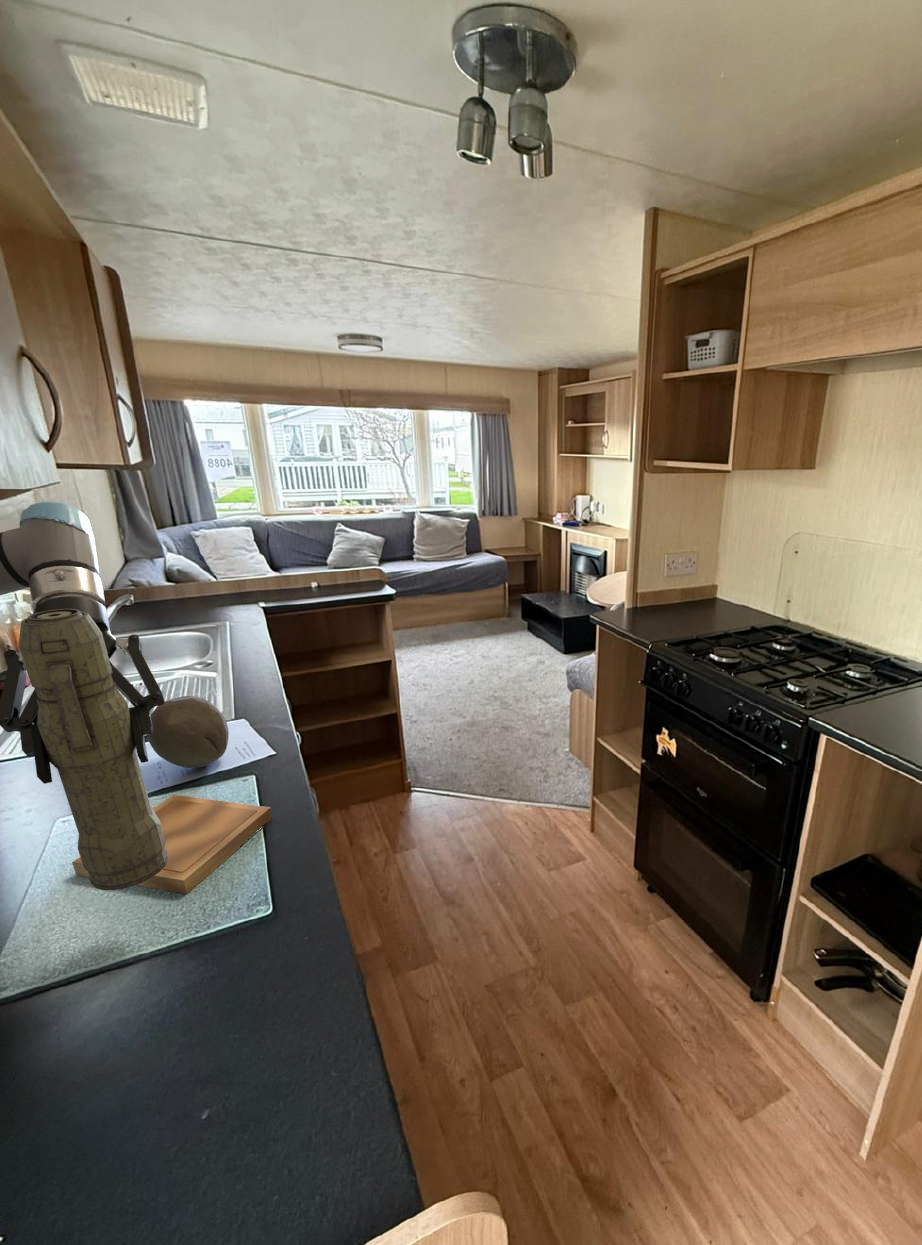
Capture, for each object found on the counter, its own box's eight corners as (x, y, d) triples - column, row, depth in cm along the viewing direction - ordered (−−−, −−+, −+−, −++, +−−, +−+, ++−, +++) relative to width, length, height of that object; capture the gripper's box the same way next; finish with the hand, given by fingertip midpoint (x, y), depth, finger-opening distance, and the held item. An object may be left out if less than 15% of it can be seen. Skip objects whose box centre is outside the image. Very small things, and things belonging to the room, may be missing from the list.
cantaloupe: (234, 744, 137) (221, 682, 131) (234, 773, 125) (219, 705, 119) (160, 757, 131) (143, 693, 125) (152, 789, 119) (133, 719, 113)
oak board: (76, 875, 95) (71, 861, 94) (176, 806, 113) (173, 794, 112) (187, 893, 91) (183, 879, 90) (272, 819, 110) (270, 806, 109)
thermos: (90, 907, 75) (-3, 633, 62) (88, 858, 83) (7, 608, 71) (174, 879, 80) (104, 619, 67) (164, 835, 88) (100, 598, 76)
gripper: (-54, 604, 71) (-39, 783, 64) (163, 584, 82) (195, 735, 75) (-29, 636, 77) (-12, 803, 71) (171, 613, 88) (201, 756, 81)
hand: (95, 768), depth 73 cm, fingers closed on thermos, 9 cm apart
